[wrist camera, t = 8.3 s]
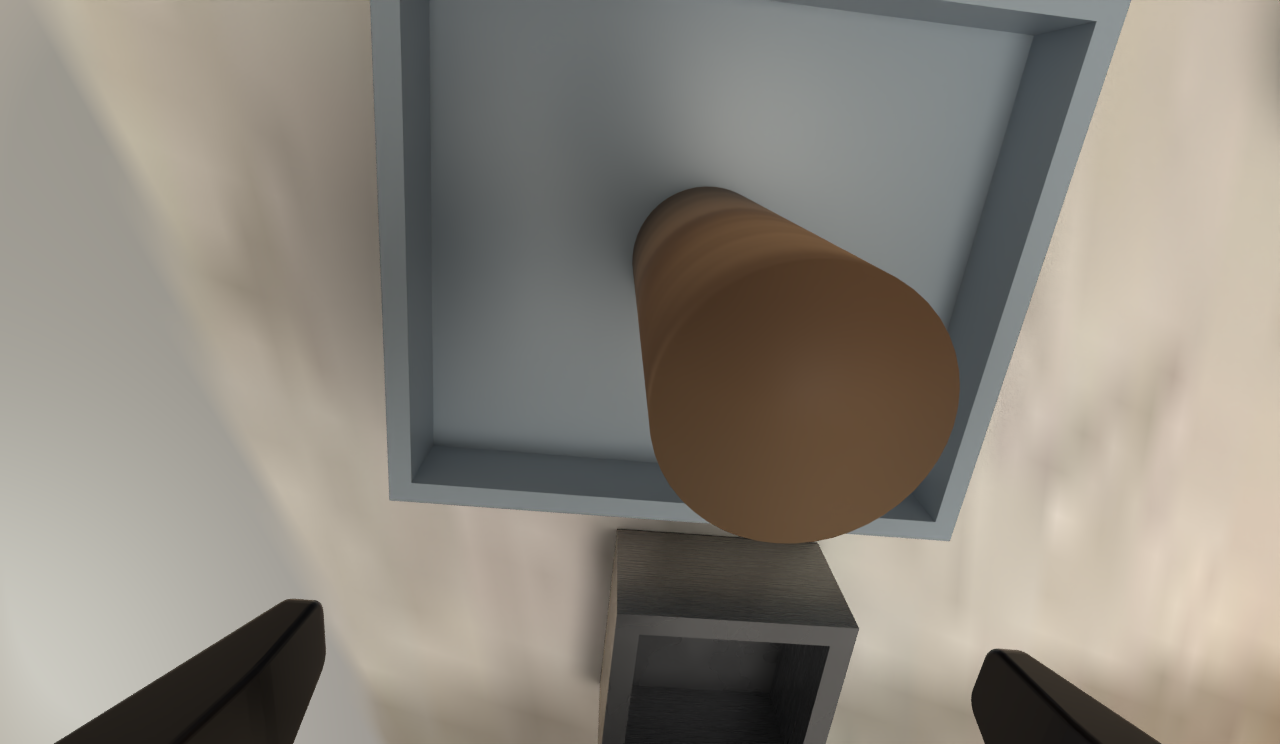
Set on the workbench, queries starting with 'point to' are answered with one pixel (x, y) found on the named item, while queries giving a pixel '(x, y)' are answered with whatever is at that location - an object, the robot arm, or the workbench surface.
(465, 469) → the tray
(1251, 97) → the workbench surface
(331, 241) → the workbench surface
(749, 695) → the box
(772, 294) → the dowel
